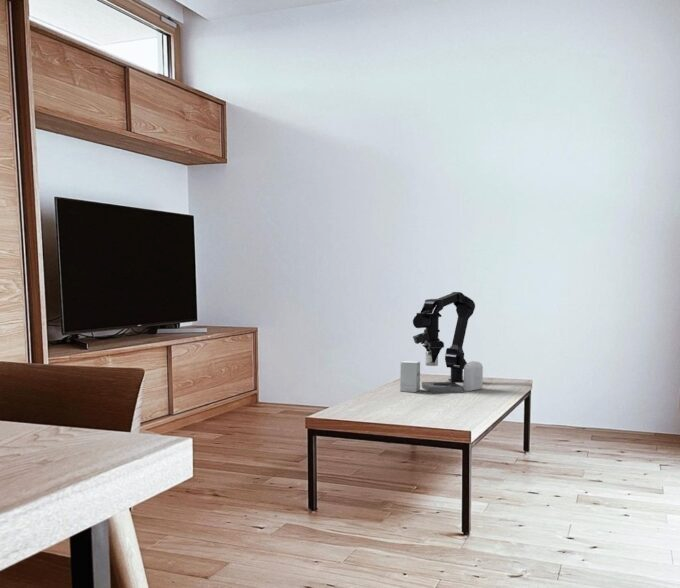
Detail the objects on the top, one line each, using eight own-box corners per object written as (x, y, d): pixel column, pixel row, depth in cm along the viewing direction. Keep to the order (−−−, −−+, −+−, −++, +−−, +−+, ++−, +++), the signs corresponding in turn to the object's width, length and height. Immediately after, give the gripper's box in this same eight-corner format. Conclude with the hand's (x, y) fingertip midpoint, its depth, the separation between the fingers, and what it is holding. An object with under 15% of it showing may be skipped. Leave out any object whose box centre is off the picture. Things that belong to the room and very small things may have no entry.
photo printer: (475, 387, 303) (476, 360, 302) (483, 389, 300) (484, 361, 299) (461, 390, 296) (462, 362, 295) (470, 391, 292) (470, 363, 292)
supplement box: (416, 392, 290) (416, 362, 289) (399, 391, 292) (399, 362, 292) (420, 389, 297) (420, 360, 296) (403, 388, 299) (403, 360, 299)
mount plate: (422, 387, 302) (422, 382, 302) (452, 387, 304) (452, 381, 304) (430, 393, 288) (430, 387, 288) (462, 392, 290) (462, 386, 290)
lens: (424, 364, 311) (424, 351, 311) (436, 364, 312) (436, 351, 311) (427, 365, 305) (427, 352, 305) (439, 365, 306) (439, 352, 306)
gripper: (410, 325, 316) (409, 359, 317) (419, 328, 298) (419, 364, 298) (433, 325, 318) (433, 359, 318) (444, 328, 299) (444, 364, 300)
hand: (431, 361), depth 309 cm, fingers closed on lens, 5 cm apart
